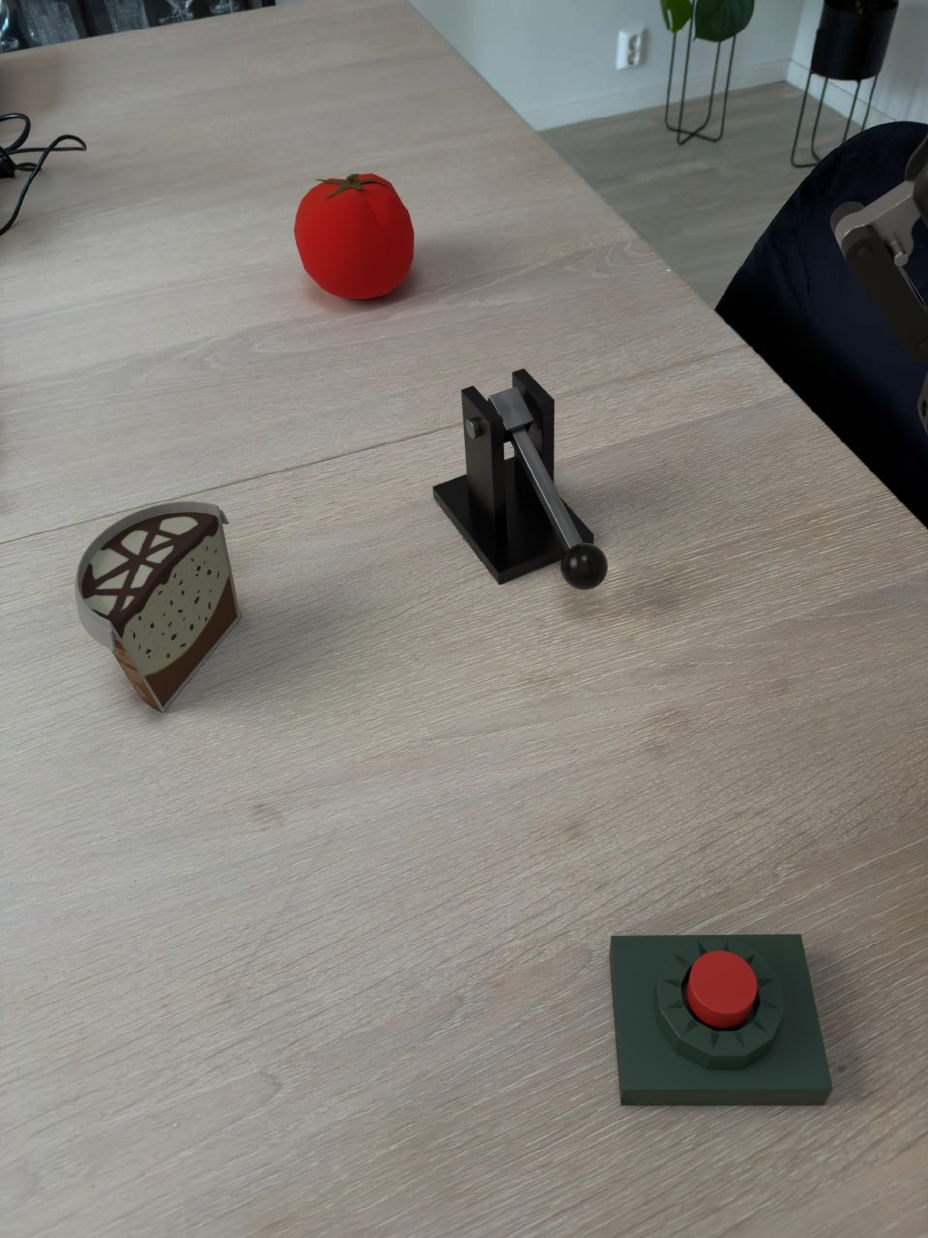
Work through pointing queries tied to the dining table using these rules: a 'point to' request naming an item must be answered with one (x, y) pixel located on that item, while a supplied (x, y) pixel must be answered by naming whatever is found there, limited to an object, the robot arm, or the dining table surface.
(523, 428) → the lever
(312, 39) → the dining table surface
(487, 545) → the black bracket
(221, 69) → the dining table surface
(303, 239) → the tomato
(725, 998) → the button
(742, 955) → the control block
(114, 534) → the cake slice
